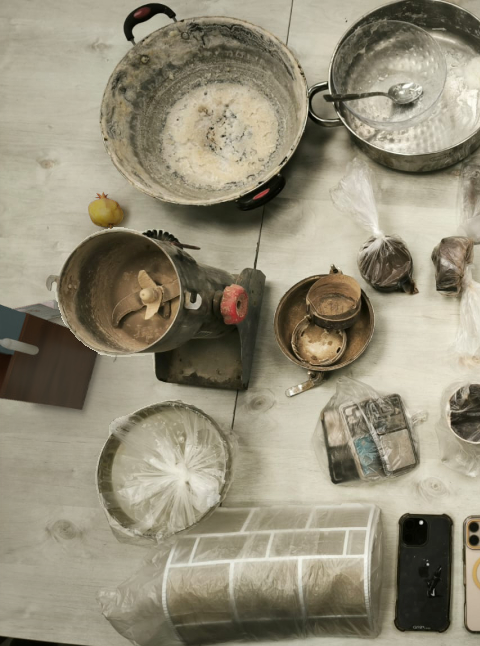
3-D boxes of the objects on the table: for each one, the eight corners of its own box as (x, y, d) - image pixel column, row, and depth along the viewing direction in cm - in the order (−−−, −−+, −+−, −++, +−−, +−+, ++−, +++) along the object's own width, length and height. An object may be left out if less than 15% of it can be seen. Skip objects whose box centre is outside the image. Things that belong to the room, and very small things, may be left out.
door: (54, 317, 100) (15, 302, 91) (42, 358, 99) (1, 347, 89) (23, 313, 100) (-19, 298, 91) (10, 354, 99) (-34, 343, 89)
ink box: (19, 316, 124) (-16, 304, 115) (69, 305, 125) (39, 292, 115) (20, 326, 123) (-15, 315, 114) (70, 315, 124) (39, 303, 115)
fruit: (121, 222, 123) (112, 183, 125) (87, 227, 121) (78, 188, 123) (130, 235, 130) (121, 198, 132) (97, 241, 127) (89, 203, 129)
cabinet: (101, 339, 123) (-25, 294, 90) (81, 409, 120) (-57, 390, 86) (58, 333, 123) (-84, 286, 90) (37, 404, 120) (-118, 382, 87)
